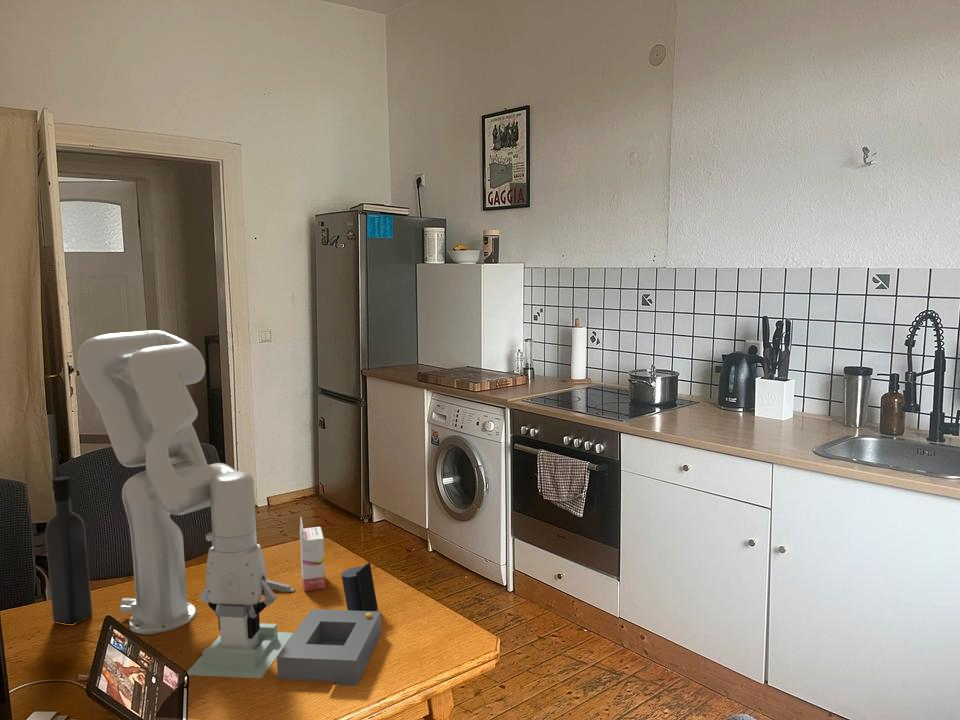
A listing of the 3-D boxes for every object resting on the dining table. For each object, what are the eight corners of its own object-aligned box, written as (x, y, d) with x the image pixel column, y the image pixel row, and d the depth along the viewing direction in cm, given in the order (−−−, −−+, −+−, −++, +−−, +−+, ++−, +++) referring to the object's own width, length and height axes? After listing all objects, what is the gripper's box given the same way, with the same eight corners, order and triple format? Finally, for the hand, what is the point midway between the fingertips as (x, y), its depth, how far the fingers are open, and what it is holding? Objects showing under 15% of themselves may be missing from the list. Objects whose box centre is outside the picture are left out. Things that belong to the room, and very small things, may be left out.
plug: (221, 658, 135) (218, 606, 133) (235, 641, 140) (233, 591, 139) (245, 659, 134) (242, 607, 133) (258, 642, 140) (256, 592, 139)
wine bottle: (50, 624, 150) (37, 481, 147) (73, 611, 156) (61, 473, 152) (72, 627, 149) (59, 483, 145) (95, 615, 154) (83, 475, 150)
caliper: (209, 587, 167) (207, 561, 166) (211, 585, 168) (209, 559, 167) (293, 593, 164) (292, 566, 163) (295, 591, 165) (294, 564, 164)
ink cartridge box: (326, 589, 165) (323, 525, 163) (303, 592, 164) (300, 528, 162) (322, 573, 173) (320, 513, 171) (301, 576, 172) (298, 515, 170)
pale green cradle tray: (184, 677, 130) (183, 658, 130) (225, 632, 146) (223, 615, 145) (261, 681, 129) (260, 661, 128) (293, 635, 144) (292, 618, 144)
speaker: (386, 609, 154) (379, 562, 153) (365, 621, 150) (358, 572, 149) (362, 603, 159) (355, 556, 158) (341, 614, 155) (334, 566, 154)
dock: (278, 682, 128) (276, 653, 128) (311, 631, 146) (310, 606, 145) (356, 685, 127) (355, 657, 126) (381, 633, 145) (380, 608, 144)
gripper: (180, 546, 132) (186, 642, 134) (271, 549, 130) (276, 647, 132) (200, 531, 139) (205, 622, 141) (287, 534, 137) (291, 626, 140)
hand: (239, 633), depth 137 cm, fingers closed on plug, 4 cm apart
